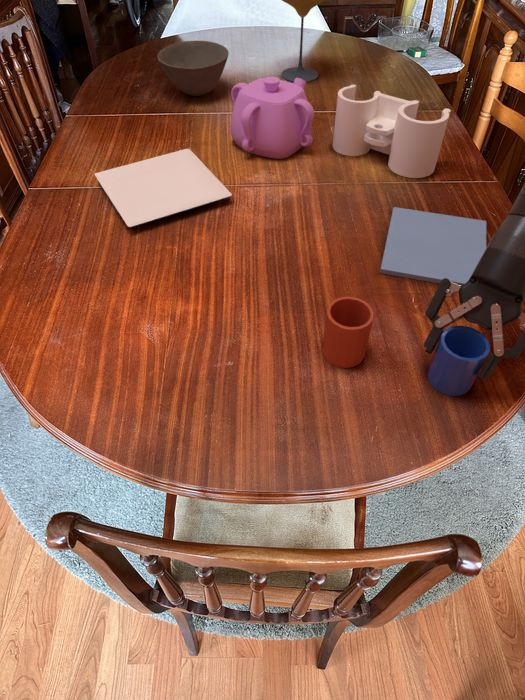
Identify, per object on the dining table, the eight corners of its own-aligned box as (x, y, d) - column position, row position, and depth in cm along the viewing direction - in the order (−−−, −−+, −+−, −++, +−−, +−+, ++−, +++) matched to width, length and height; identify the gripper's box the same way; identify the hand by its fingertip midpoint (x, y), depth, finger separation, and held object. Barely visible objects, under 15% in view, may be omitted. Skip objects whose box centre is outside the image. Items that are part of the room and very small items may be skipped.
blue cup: (472, 366, 76) (489, 330, 70) (471, 400, 72) (490, 365, 66) (428, 358, 78) (442, 321, 72) (425, 390, 74) (439, 355, 68)
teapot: (233, 163, 116) (230, 99, 105) (229, 121, 129) (226, 60, 118) (316, 159, 117) (321, 95, 106) (303, 118, 130) (306, 57, 119)
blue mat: (484, 225, 100) (486, 220, 99) (484, 291, 87) (486, 287, 86) (392, 211, 103) (393, 206, 102) (379, 273, 91) (380, 268, 90)
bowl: (174, 76, 148) (169, 38, 141) (237, 81, 146) (235, 42, 138) (153, 104, 136) (146, 64, 129) (220, 109, 134) (218, 69, 126)
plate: (233, 203, 105) (232, 194, 104) (130, 235, 98) (128, 226, 97) (189, 155, 118) (188, 147, 117) (96, 181, 111) (93, 172, 110)
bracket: (324, 150, 119) (328, 97, 110) (344, 134, 125) (350, 82, 115) (422, 183, 110) (436, 128, 101) (440, 164, 115) (455, 110, 106)
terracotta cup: (367, 340, 80) (376, 301, 74) (361, 372, 76) (370, 333, 69) (326, 332, 81) (331, 293, 75) (318, 362, 77) (322, 324, 71)
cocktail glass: (282, 59, 156) (284, -41, 137) (338, 68, 151) (349, -35, 132) (259, 82, 145) (258, -24, 126) (318, 92, 140) (327, -16, 122)
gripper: (461, 230, 67) (401, 341, 70) (572, 274, 62) (503, 392, 65) (465, 243, 74) (411, 343, 77) (566, 283, 68) (503, 390, 71)
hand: (453, 365), depth 71 cm, fingers open, 7 cm apart
